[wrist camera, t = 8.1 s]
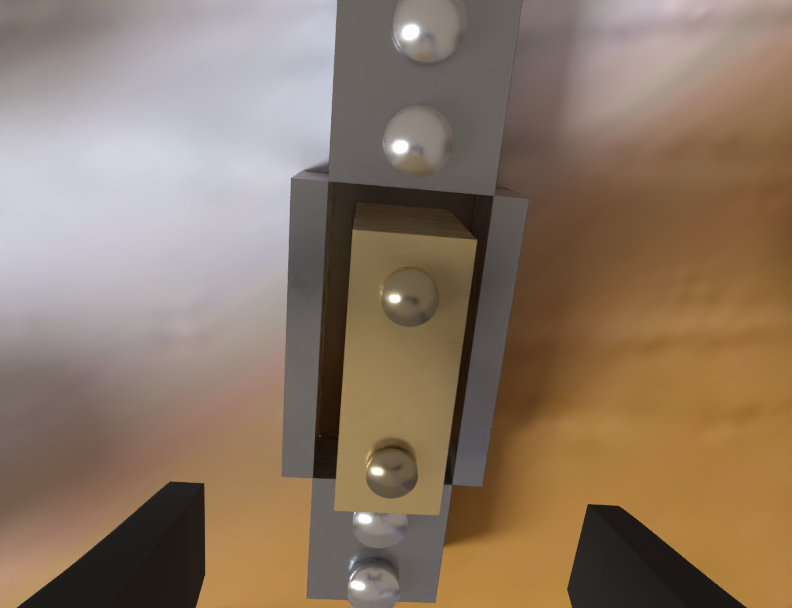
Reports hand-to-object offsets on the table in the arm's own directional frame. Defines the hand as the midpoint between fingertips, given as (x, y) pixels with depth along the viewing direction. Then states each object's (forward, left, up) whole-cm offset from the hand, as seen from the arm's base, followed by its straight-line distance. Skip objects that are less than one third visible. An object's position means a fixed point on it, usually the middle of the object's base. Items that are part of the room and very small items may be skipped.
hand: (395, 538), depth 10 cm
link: (0, -1, -10) cm, 10 cm away
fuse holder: (0, -1, -9) cm, 9 cm away
